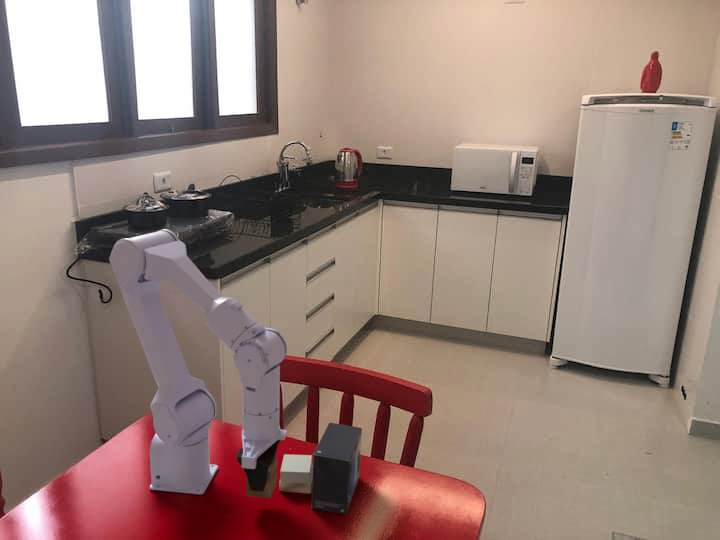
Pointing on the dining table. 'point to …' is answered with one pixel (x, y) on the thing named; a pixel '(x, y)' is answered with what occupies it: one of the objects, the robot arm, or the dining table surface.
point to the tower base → (297, 486)
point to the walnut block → (270, 482)
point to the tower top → (296, 469)
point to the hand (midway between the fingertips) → (261, 480)
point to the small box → (336, 468)
